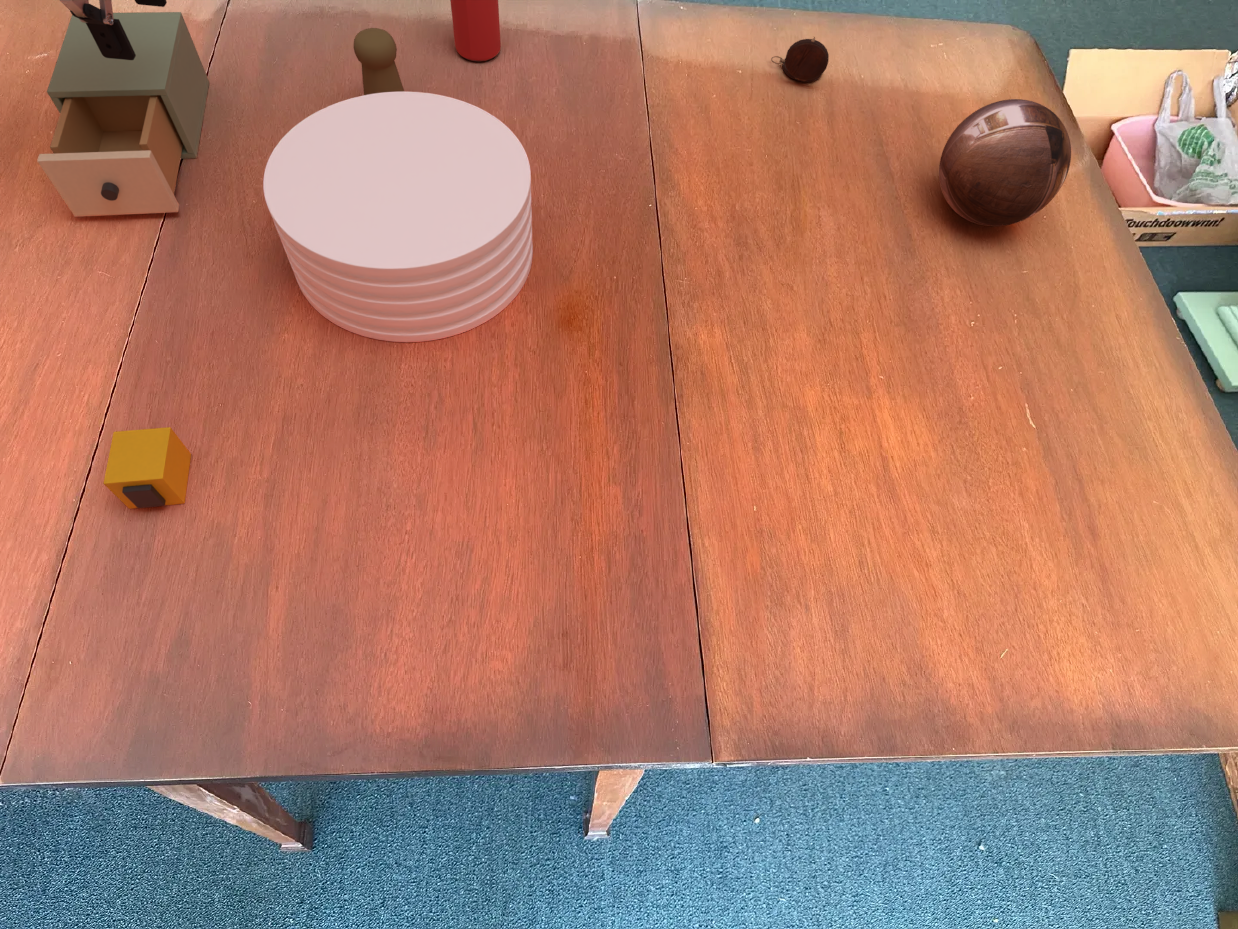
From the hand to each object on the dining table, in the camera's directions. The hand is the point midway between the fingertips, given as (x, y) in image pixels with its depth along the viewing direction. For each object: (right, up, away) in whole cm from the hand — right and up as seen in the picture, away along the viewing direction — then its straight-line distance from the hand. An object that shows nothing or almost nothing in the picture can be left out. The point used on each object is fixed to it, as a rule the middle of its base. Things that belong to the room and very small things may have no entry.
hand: (136, 30), depth 83 cm
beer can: (+31, +15, +32) cm, 47 cm away
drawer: (-8, -11, +12) cm, 18 cm away
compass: (+78, +13, +35) cm, 87 cm away
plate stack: (+27, -21, +11) cm, 36 cm away
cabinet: (-10, -1, +19) cm, 21 cm away
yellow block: (+7, -48, -7) cm, 49 cm away
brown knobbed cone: (+20, +1, +23) cm, 31 cm away
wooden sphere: (+100, -12, +22) cm, 103 cm away
